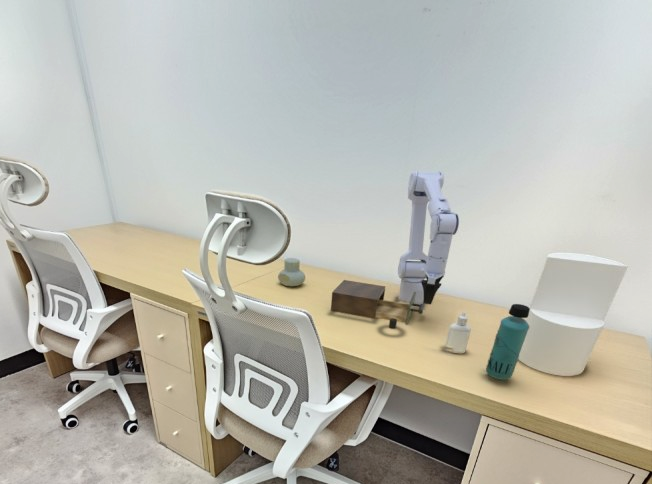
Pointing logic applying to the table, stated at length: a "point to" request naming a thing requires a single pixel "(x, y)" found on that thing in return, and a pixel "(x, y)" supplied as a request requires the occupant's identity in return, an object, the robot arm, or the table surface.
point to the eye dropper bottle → (458, 335)
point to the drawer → (397, 309)
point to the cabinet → (357, 298)
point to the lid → (392, 323)
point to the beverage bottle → (508, 343)
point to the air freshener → (291, 273)
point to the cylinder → (569, 311)
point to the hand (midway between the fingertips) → (428, 299)
